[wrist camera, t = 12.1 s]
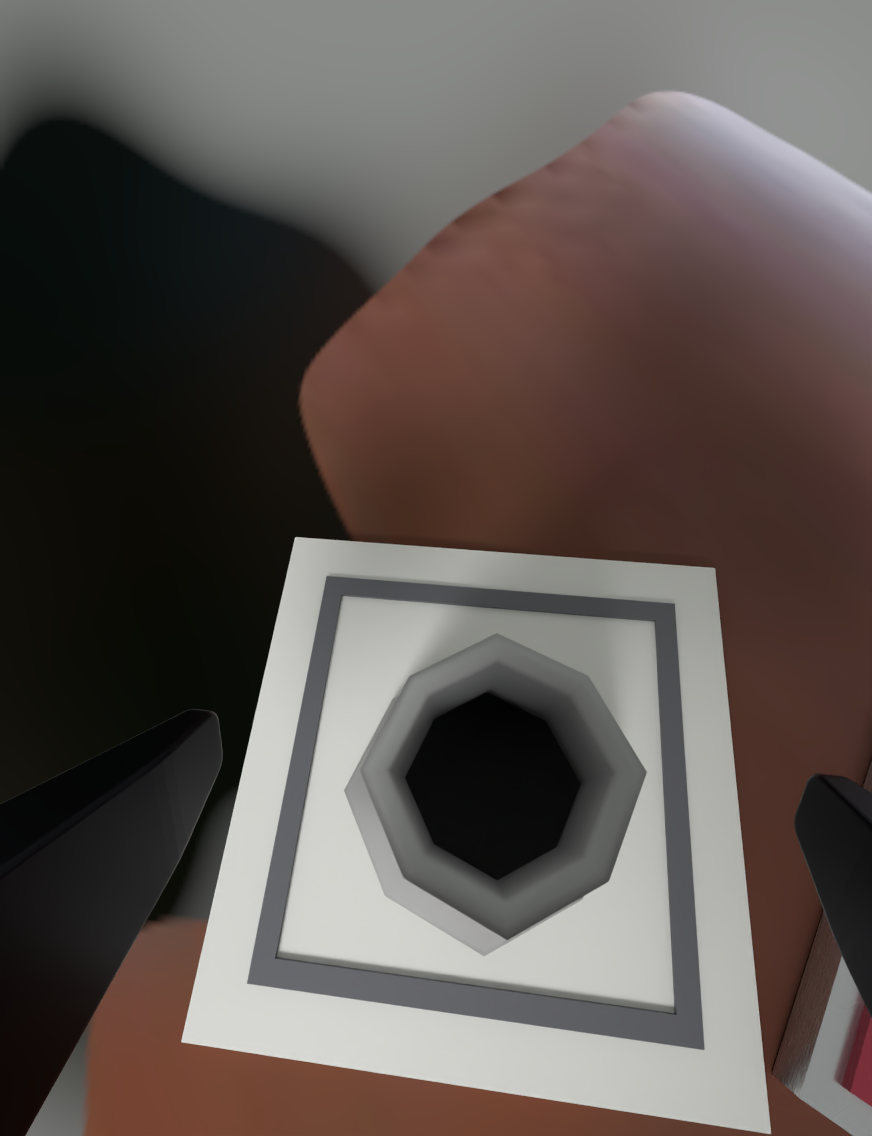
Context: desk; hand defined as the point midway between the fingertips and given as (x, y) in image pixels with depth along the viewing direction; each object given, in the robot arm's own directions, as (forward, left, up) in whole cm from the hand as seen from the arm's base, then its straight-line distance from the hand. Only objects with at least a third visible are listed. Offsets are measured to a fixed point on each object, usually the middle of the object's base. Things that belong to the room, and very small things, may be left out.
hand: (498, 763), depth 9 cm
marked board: (0, 0, -8) cm, 8 cm away
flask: (0, 0, -8) cm, 8 cm away
